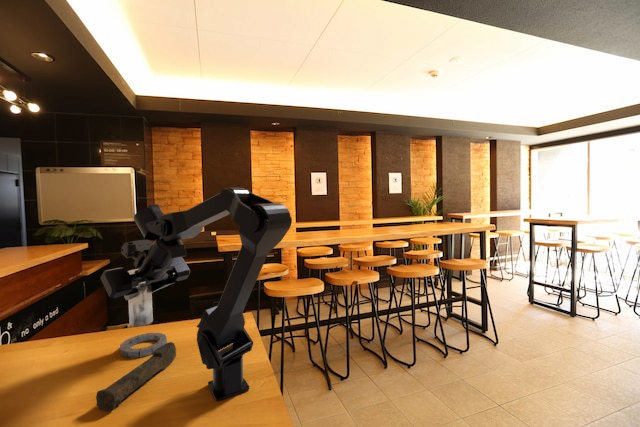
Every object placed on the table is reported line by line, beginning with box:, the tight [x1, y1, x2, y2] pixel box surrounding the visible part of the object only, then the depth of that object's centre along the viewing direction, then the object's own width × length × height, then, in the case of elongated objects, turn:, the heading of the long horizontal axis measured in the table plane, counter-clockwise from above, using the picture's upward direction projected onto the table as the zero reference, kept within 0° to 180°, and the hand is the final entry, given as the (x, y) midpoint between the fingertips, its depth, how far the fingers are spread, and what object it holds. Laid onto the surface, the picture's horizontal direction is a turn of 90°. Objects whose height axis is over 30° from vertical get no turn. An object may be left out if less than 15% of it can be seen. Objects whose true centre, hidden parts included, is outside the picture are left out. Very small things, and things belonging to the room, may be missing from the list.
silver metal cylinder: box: [127, 268, 154, 328], centre depth 76 cm, size 5×5×13 cm
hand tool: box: [95, 341, 177, 412], centre depth 63 cm, size 19×4×5 cm, turn 165°
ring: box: [119, 332, 168, 359], centre depth 77 cm, size 10×10×2 cm
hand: (137, 295), depth 77 cm, fingers closed on silver metal cylinder, 5 cm apart
